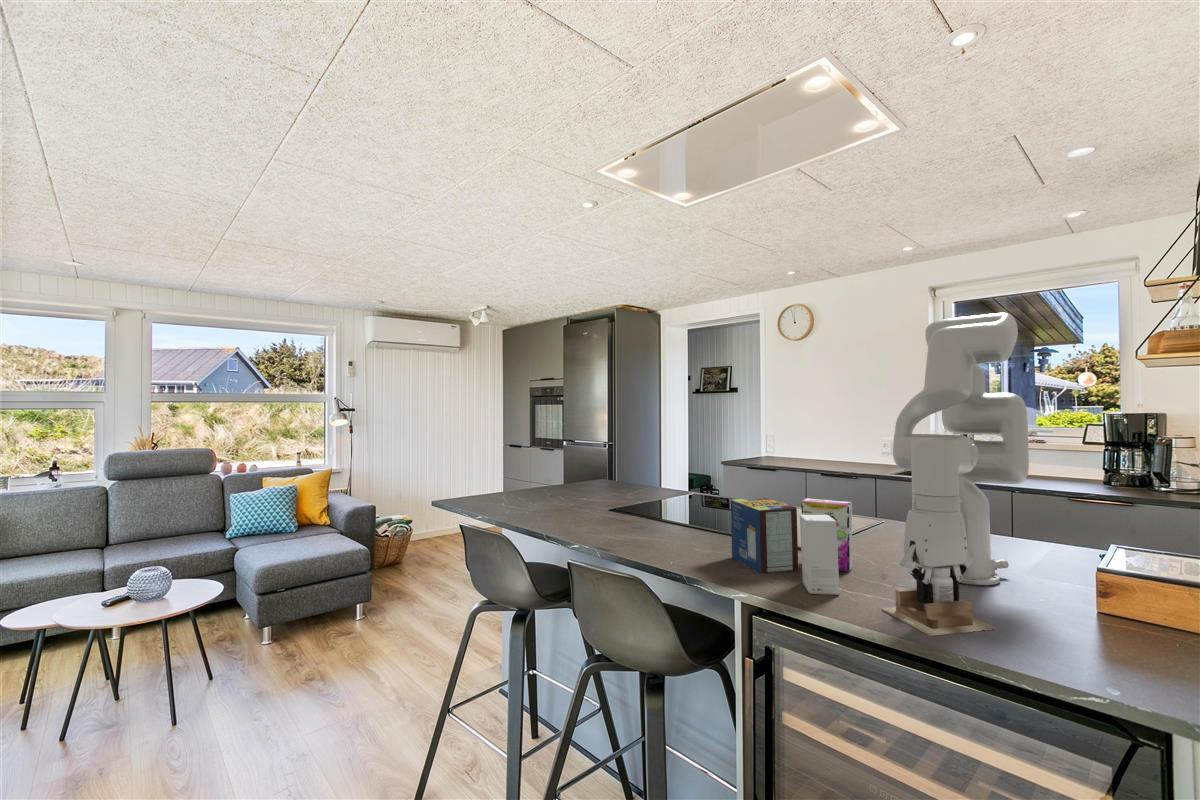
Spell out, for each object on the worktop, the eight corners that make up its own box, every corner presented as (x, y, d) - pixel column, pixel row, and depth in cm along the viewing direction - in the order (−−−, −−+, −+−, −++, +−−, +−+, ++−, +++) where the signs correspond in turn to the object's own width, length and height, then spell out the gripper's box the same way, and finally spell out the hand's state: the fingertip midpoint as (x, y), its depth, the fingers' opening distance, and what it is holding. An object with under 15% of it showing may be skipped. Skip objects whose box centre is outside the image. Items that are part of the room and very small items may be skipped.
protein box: (766, 554, 145) (765, 497, 145) (799, 571, 130) (797, 507, 130) (730, 557, 142) (729, 499, 143) (759, 574, 127) (758, 509, 128)
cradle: (940, 605, 106) (939, 583, 106) (994, 629, 94) (994, 604, 94) (881, 610, 104) (881, 587, 104) (930, 635, 92) (929, 610, 92)
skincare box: (840, 596, 112) (838, 521, 112) (806, 594, 113) (805, 520, 114) (831, 583, 120) (829, 513, 121) (800, 581, 122) (798, 513, 122)
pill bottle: (917, 607, 101) (916, 562, 101) (941, 606, 102) (940, 561, 102) (935, 617, 97) (934, 570, 97) (960, 615, 97) (958, 569, 97)
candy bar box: (801, 566, 133) (800, 500, 134) (805, 561, 138) (804, 497, 138) (850, 573, 127) (849, 504, 128) (853, 567, 132) (852, 501, 132)
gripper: (958, 498, 105) (960, 592, 104) (880, 502, 102) (883, 598, 101) (992, 505, 97) (995, 605, 97) (910, 509, 94) (912, 613, 94)
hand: (937, 601), depth 99 cm, fingers closed on pill bottle, 4 cm apart
